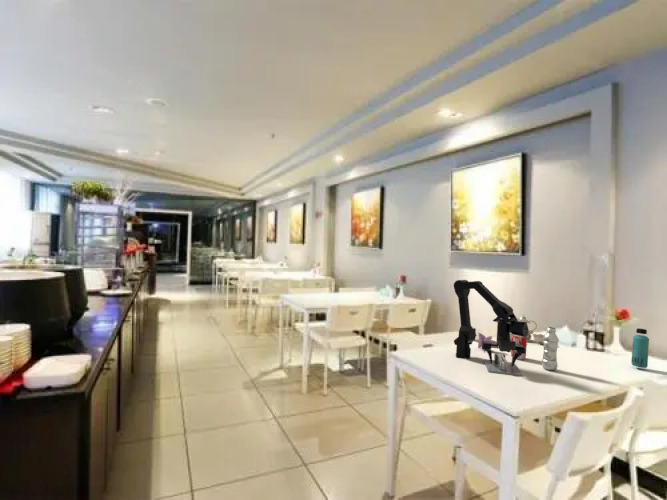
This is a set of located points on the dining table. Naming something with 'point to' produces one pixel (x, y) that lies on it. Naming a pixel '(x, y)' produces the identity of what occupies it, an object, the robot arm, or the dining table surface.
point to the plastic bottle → (550, 349)
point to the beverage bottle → (640, 349)
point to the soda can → (520, 341)
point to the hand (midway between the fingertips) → (501, 365)
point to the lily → (483, 338)
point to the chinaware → (537, 338)
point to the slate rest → (495, 368)
